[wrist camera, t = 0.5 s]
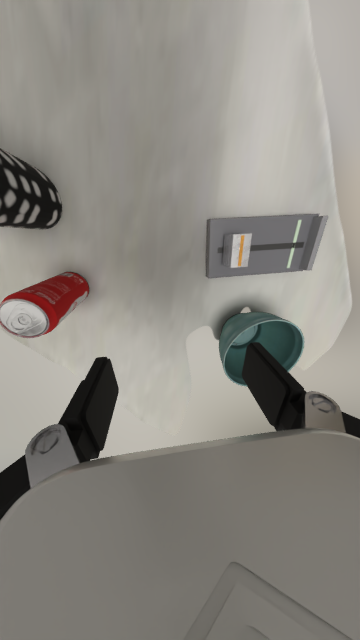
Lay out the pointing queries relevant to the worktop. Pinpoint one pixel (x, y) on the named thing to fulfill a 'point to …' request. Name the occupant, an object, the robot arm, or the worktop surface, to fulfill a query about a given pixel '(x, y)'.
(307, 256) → the fader console
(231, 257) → the fader knob
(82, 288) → the beverage can
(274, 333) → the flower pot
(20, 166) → the white-spotted black cylinder
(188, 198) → the worktop surface
